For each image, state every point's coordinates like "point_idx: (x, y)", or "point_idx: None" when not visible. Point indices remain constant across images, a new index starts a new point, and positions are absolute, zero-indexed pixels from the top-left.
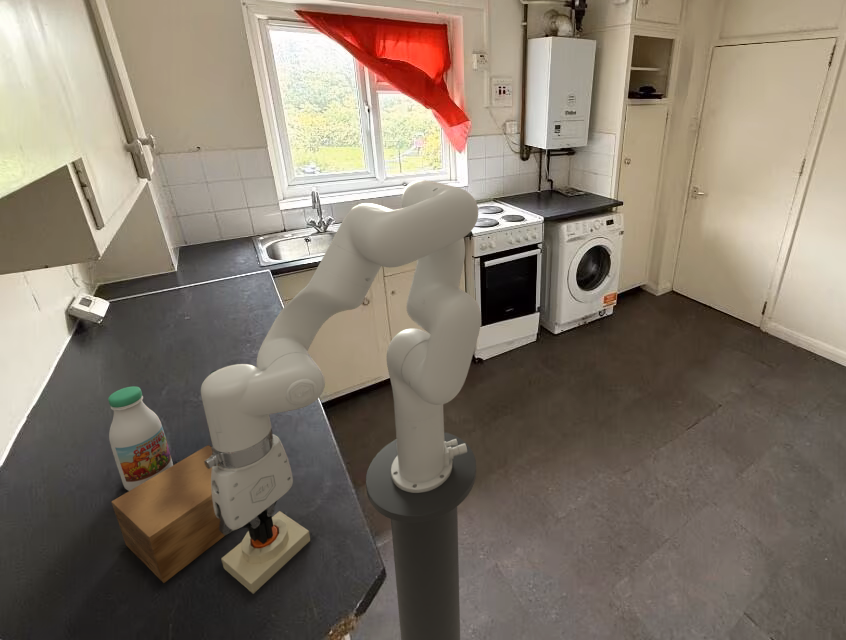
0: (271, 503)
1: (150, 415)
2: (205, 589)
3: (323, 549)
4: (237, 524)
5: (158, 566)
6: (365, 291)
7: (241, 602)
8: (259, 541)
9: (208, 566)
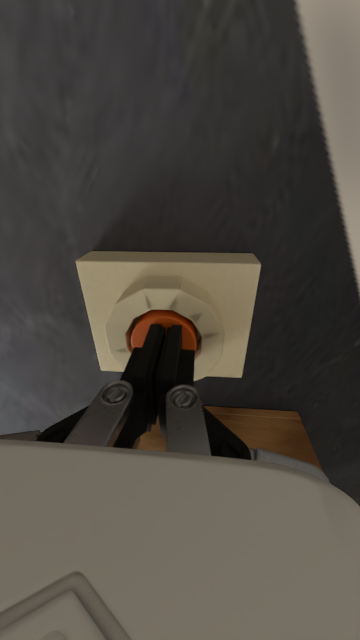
0: (73, 461)
1: None
2: (281, 349)
3: (79, 191)
4: (356, 542)
5: (314, 452)
6: None
7: (278, 260)
8: (183, 341)
9: (246, 381)
